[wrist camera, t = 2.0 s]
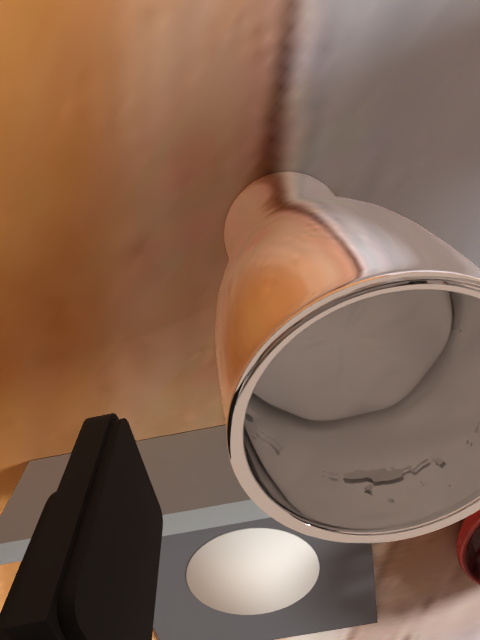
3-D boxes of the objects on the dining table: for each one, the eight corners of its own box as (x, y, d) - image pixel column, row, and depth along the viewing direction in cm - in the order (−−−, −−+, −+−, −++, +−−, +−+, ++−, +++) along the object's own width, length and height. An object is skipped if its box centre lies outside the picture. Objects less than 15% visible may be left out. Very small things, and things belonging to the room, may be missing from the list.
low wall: (470, 379, 26) (536, 449, 21) (469, 399, 27) (532, 471, 22) (29, 460, 27) (-16, 546, 22) (38, 477, 28) (-4, 565, 23)
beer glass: (295, 319, 24) (398, 587, 10) (188, 251, 22) (146, 474, 9) (380, 216, 22) (651, 387, 8) (270, 129, 20) (388, 169, 6)
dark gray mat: (362, 457, 29) (365, 465, 28) (375, 614, 37) (377, 623, 36) (99, 504, 29) (97, 513, 29) (168, 649, 37) (167, 658, 37)
